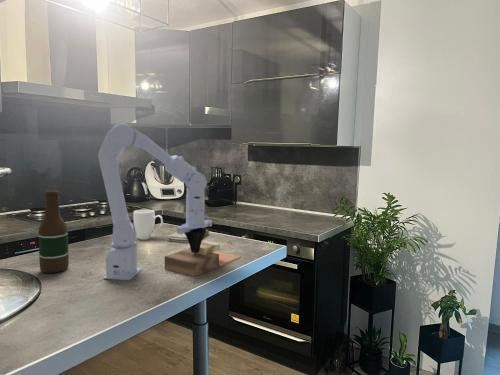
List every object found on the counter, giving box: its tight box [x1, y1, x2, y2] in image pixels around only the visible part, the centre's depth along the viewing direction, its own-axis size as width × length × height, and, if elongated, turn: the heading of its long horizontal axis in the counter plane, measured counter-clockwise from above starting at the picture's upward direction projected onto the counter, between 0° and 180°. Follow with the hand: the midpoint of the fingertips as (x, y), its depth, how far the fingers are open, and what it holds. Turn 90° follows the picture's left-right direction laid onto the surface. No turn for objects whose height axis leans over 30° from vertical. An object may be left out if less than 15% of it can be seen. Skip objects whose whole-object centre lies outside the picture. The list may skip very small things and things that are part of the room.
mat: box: [212, 250, 242, 267], centre depth 125 cm, size 12×13×1 cm
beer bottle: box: [37, 189, 70, 274], centre depth 109 cm, size 8×8×24 cm
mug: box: [132, 208, 164, 241], centre depth 149 cm, size 12×8×11 cm
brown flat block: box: [164, 248, 220, 278], centre depth 115 cm, size 12×12×4 cm
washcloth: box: [166, 229, 210, 244], centre depth 152 cm, size 12×18×3 cm, turn 166°
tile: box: [190, 240, 221, 255], centre depth 120 cm, size 8×6×2 cm
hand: (195, 252), depth 115 cm, fingers closed
